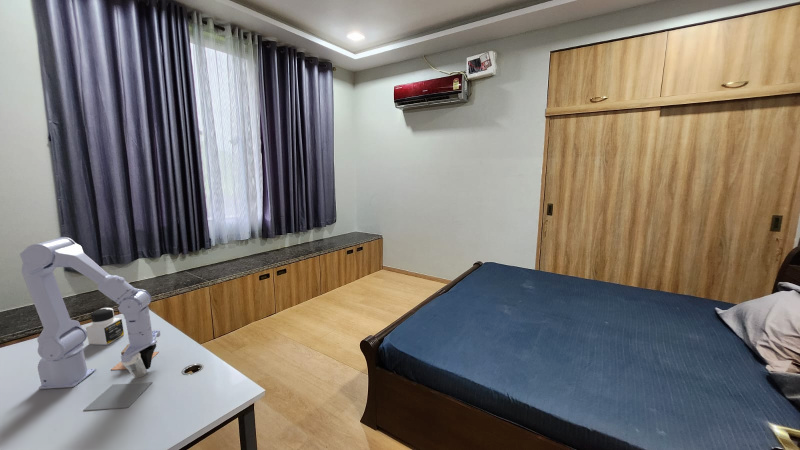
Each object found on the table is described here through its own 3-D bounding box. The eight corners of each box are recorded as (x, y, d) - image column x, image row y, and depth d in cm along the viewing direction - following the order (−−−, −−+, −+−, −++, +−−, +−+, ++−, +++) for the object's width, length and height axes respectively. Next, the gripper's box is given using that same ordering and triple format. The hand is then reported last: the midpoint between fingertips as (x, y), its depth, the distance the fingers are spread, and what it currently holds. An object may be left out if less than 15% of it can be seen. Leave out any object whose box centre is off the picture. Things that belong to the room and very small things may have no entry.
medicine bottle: (107, 345, 113) (102, 314, 111) (88, 344, 113) (82, 314, 111) (124, 334, 120) (119, 306, 118) (106, 334, 120) (101, 305, 118)
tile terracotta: (110, 370, 99) (110, 369, 99) (131, 353, 108) (131, 353, 108) (141, 368, 100) (141, 367, 100) (159, 352, 109) (159, 351, 109)
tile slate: (83, 410, 83) (83, 410, 83) (112, 385, 93) (112, 384, 93) (127, 407, 84) (127, 407, 84) (152, 382, 94) (152, 382, 94)
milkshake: (142, 382, 95) (130, 364, 89) (127, 378, 96) (114, 359, 90) (155, 369, 99) (144, 350, 93) (141, 365, 99) (129, 346, 94)
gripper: (137, 341, 90) (143, 382, 92) (167, 317, 104) (172, 354, 107) (110, 343, 89) (118, 384, 92) (145, 318, 103) (150, 355, 106)
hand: (145, 368), depth 99 cm, fingers closed
